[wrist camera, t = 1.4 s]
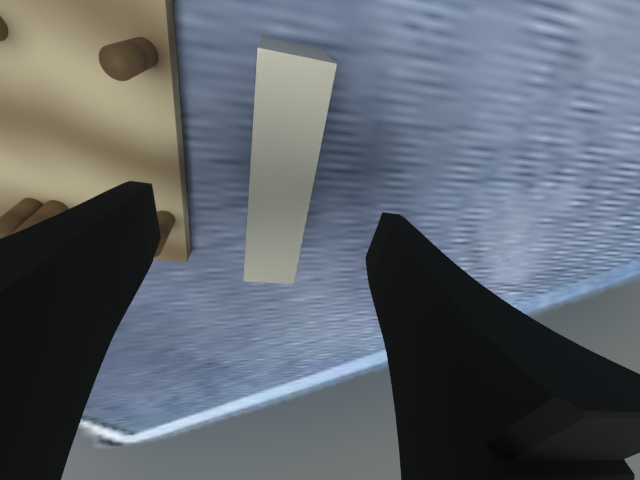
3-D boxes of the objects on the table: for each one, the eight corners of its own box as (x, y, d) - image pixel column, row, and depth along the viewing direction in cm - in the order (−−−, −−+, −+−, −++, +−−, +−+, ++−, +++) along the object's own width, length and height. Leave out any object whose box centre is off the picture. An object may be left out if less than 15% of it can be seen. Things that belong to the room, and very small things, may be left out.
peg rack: (191, 250, 22) (176, 294, 19) (-63, 232, 19) (-133, 281, 16) (169, -41, 13) (134, -55, 10) (-330, -165, 10) (-628, -246, 7)
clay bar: (290, 235, 23) (293, 284, 19) (249, 231, 22) (243, 281, 18) (321, 48, 16) (337, 63, 12) (262, 35, 15) (257, 47, 11)
